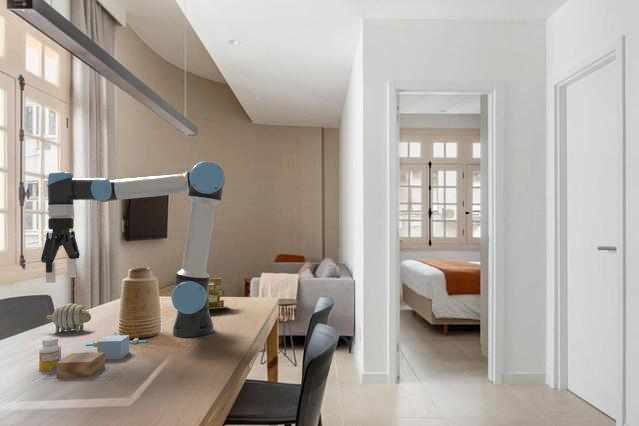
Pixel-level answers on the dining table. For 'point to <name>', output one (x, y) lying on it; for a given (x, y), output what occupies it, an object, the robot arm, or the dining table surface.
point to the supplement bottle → (49, 354)
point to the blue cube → (114, 346)
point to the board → (100, 373)
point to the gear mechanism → (115, 335)
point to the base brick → (80, 365)
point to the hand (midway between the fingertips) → (61, 279)
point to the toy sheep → (70, 317)
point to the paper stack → (215, 294)
